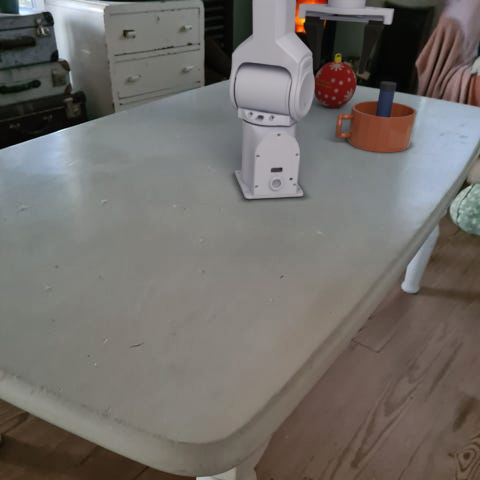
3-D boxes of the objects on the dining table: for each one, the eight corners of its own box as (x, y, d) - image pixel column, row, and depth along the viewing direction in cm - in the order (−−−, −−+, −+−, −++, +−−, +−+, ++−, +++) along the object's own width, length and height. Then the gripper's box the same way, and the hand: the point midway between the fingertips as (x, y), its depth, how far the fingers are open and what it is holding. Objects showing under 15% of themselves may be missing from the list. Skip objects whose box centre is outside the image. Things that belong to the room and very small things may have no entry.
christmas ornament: (303, 104, 109) (308, 51, 103) (336, 100, 112) (342, 48, 106) (327, 114, 103) (333, 59, 97) (361, 109, 106) (369, 55, 100)
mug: (394, 132, 94) (400, 100, 91) (419, 151, 86) (427, 117, 82) (325, 134, 92) (328, 101, 89) (344, 154, 84) (349, 119, 81)
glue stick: (388, 141, 88) (399, 84, 83) (374, 141, 88) (384, 85, 82) (382, 136, 90) (392, 81, 85) (369, 137, 90) (378, 81, 84)
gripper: (402, -27, 79) (385, 70, 87) (310, -31, 83) (302, 62, 91) (396, -25, 74) (379, 78, 82) (298, -29, 77) (291, 70, 86)
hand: (338, 71), depth 86 cm, fingers open, 7 cm apart
